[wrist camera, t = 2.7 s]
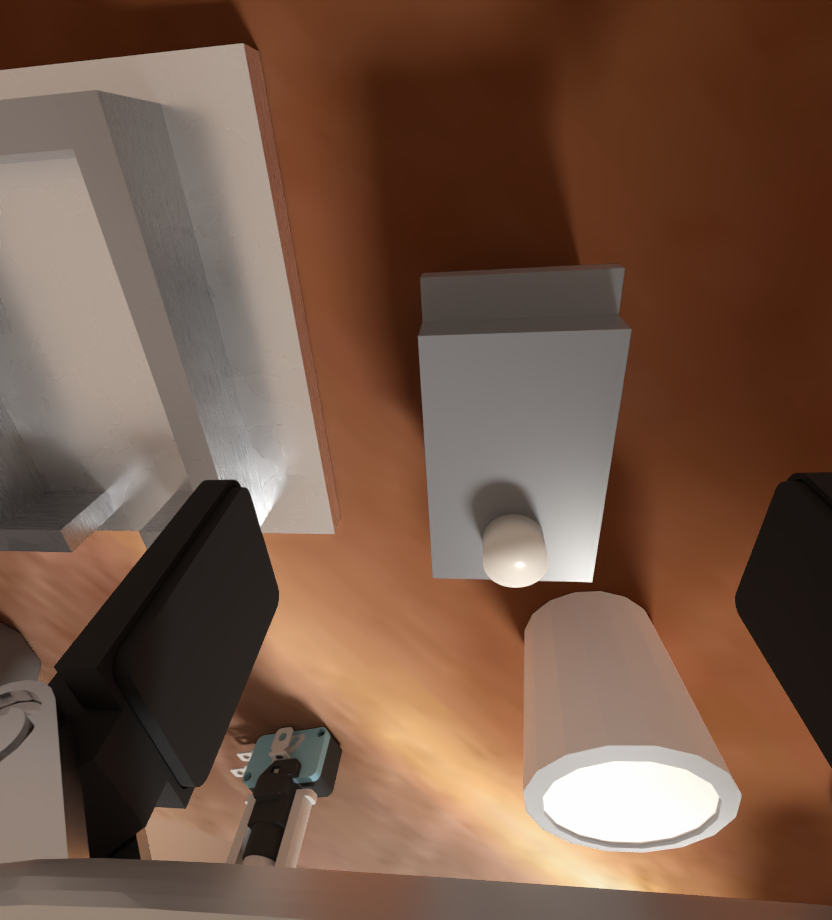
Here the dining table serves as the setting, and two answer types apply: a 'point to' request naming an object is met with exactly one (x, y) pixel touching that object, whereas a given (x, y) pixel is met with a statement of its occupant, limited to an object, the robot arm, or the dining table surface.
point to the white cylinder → (615, 733)
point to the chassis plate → (149, 302)
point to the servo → (520, 418)
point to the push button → (282, 794)
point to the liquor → (16, 658)
